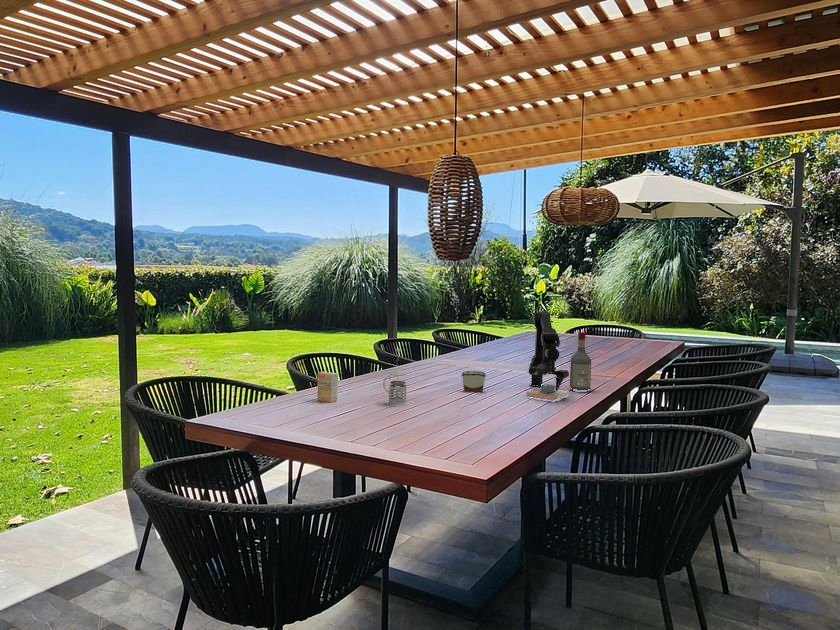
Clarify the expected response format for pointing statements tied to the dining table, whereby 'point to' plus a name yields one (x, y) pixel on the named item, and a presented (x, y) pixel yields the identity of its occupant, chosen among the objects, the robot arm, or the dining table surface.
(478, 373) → the food container
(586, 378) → the liquor
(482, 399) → the dining table surface
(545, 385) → the block
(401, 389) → the french press
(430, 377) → the dining table surface
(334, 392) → the supplement box
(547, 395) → the chassis plate
